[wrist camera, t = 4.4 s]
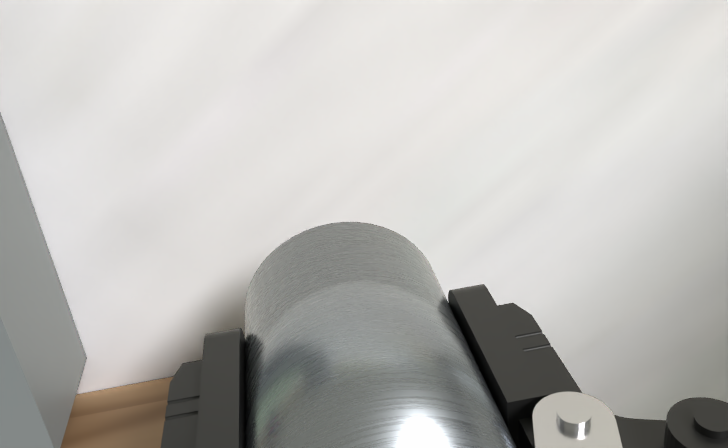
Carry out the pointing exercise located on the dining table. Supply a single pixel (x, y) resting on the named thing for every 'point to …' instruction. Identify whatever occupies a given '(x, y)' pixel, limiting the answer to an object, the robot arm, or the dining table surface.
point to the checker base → (32, 323)
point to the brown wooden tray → (119, 417)
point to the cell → (359, 349)
